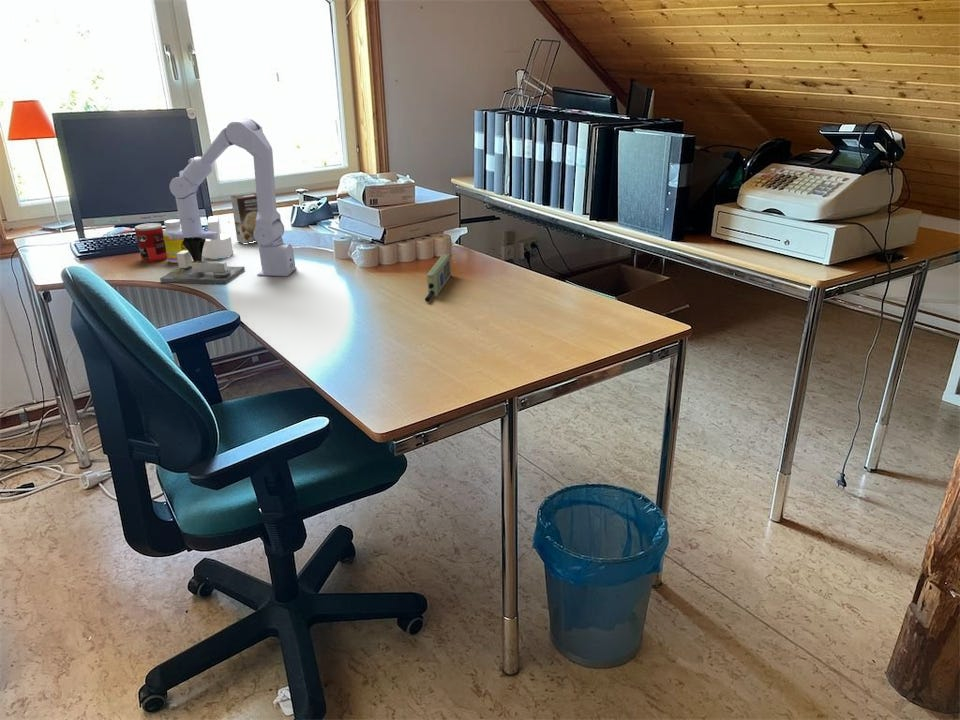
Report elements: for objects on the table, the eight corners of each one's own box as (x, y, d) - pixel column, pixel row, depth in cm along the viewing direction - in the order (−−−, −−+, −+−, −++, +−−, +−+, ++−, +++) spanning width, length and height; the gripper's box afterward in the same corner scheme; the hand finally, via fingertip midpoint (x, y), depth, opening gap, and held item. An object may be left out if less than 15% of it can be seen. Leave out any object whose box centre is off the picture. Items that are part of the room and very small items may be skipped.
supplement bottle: (185, 263, 221) (177, 223, 215) (165, 263, 221) (156, 223, 215) (194, 257, 227) (186, 218, 221) (173, 257, 227) (166, 218, 222)
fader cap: (192, 264, 214) (189, 250, 212) (186, 268, 210) (184, 253, 209) (185, 264, 214) (182, 250, 212) (179, 267, 211) (176, 253, 209)
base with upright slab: (205, 253, 232) (198, 217, 227) (233, 250, 234) (227, 215, 229) (204, 260, 224) (197, 223, 219) (233, 257, 226) (227, 221, 221)
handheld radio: (452, 276, 206) (434, 304, 183) (442, 276, 206) (422, 304, 184) (451, 254, 203) (432, 280, 181) (440, 254, 204) (419, 280, 181)
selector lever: (233, 271, 207) (231, 259, 205) (226, 276, 202) (224, 264, 201) (198, 270, 208) (196, 259, 206) (190, 275, 203) (188, 263, 202)
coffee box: (244, 245, 240) (237, 198, 233) (237, 241, 244) (229, 195, 238) (269, 240, 245) (262, 194, 238) (261, 237, 250) (255, 192, 243)
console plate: (244, 270, 213) (244, 266, 212) (225, 283, 201) (224, 279, 200) (183, 269, 215) (182, 265, 214) (160, 282, 203) (159, 278, 203)
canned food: (141, 257, 227) (134, 224, 223) (167, 254, 230) (161, 221, 226) (141, 263, 221) (134, 229, 216) (169, 260, 224) (162, 226, 219)
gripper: (159, 220, 203) (168, 265, 208) (206, 221, 201) (214, 266, 207) (172, 215, 209) (180, 258, 215) (217, 215, 207) (225, 259, 213)
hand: (198, 262), depth 211 cm, fingers closed
